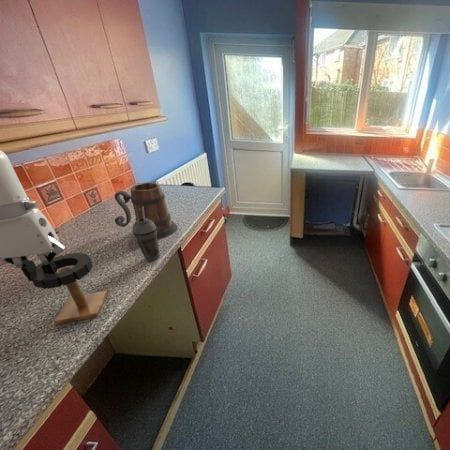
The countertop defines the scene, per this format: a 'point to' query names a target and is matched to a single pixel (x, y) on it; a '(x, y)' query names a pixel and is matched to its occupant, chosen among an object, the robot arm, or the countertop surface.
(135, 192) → the tankard
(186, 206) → the countertop surface
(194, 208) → the countertop surface
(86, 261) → the ring
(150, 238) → the beverage cup
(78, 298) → the stand
